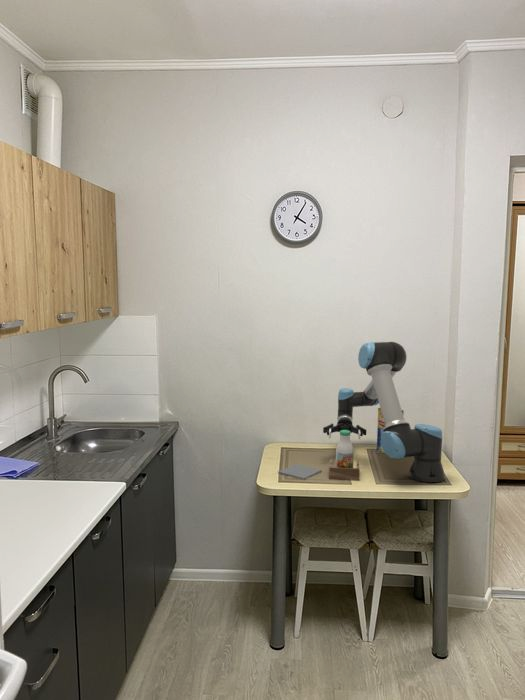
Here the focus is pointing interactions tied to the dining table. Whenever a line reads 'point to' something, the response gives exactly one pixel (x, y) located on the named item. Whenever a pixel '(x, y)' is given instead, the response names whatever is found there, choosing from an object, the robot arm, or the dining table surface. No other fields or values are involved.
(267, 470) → the dining table surface
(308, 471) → the grey tile
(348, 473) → the wooden frame
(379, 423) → the beverage box
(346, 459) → the milk bottle
